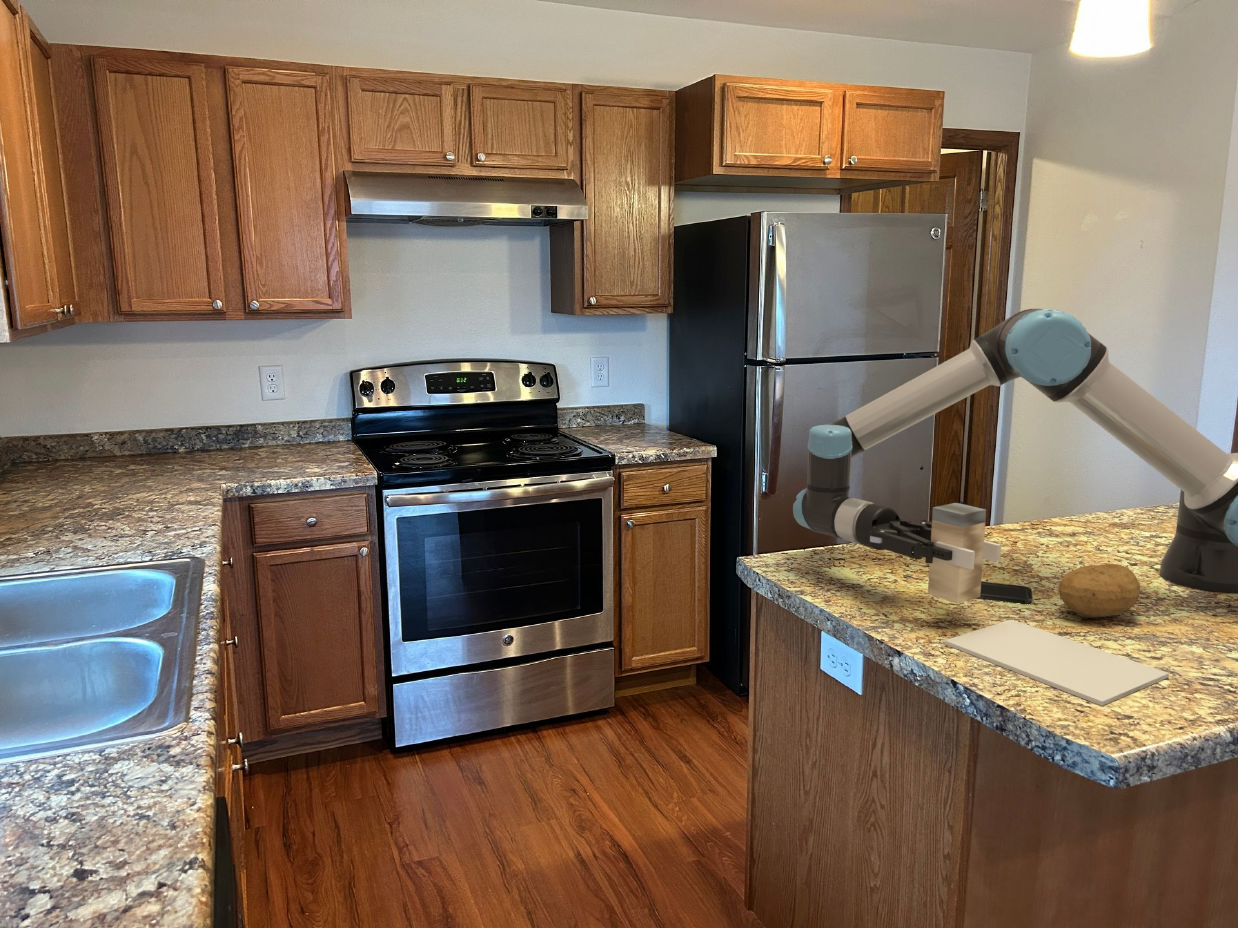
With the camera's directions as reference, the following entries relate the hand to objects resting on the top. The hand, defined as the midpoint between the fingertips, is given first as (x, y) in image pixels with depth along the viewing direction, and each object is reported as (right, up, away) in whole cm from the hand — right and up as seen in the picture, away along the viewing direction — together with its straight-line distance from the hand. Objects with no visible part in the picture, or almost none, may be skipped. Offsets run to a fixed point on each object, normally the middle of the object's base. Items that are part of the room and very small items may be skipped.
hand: (985, 556), depth 138 cm
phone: (+8, -9, +21) cm, 24 cm away
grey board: (+6, -14, -8) cm, 17 cm away
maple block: (-3, -7, +6) cm, 9 cm away
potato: (+21, -11, +10) cm, 26 cm away
